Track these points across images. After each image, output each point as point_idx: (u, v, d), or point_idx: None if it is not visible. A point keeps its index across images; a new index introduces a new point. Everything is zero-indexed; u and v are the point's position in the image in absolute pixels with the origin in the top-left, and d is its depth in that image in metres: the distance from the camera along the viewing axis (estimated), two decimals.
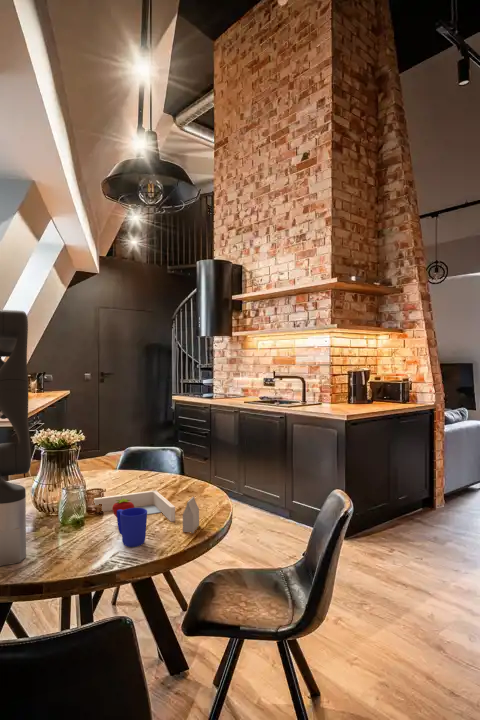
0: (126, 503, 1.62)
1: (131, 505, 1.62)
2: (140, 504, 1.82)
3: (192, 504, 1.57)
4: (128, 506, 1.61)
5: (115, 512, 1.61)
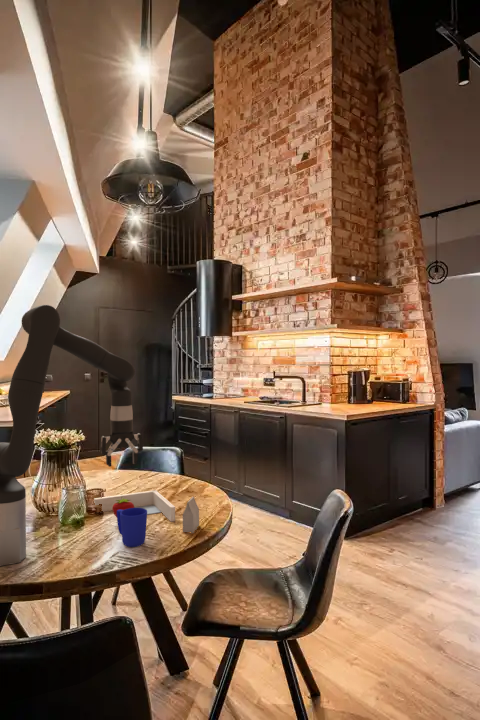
0: (126, 503, 1.62)
1: (131, 505, 1.62)
2: (140, 504, 1.82)
3: (192, 504, 1.57)
4: (128, 506, 1.61)
5: (115, 512, 1.61)
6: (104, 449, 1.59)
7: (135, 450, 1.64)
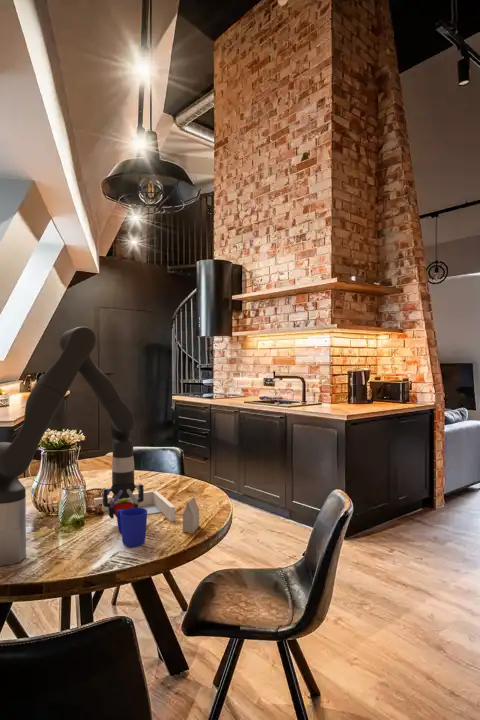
0: (126, 503, 1.62)
1: (131, 505, 1.62)
2: (140, 504, 1.82)
3: (192, 504, 1.57)
4: (128, 506, 1.61)
5: (115, 512, 1.61)
6: (106, 501, 1.59)
7: (135, 501, 1.64)
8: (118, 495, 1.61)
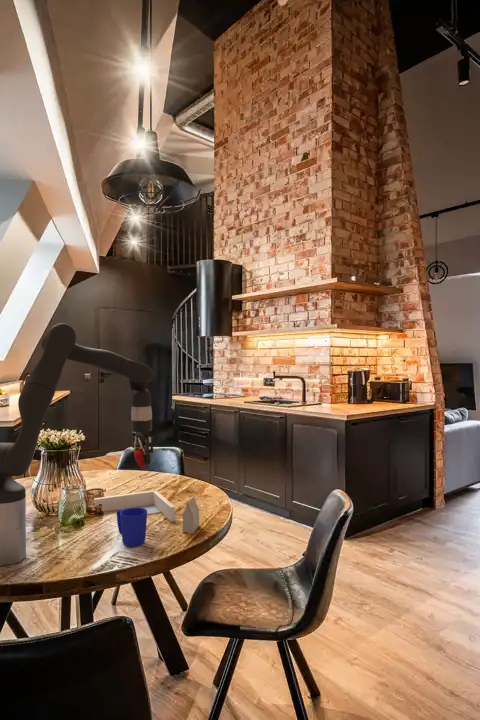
0: (138, 450, 1.73)
1: (139, 453, 1.71)
2: (140, 504, 1.82)
3: (192, 504, 1.57)
4: (136, 453, 1.72)
5: None
6: (132, 443, 1.78)
7: (143, 451, 1.70)
8: (135, 440, 1.75)
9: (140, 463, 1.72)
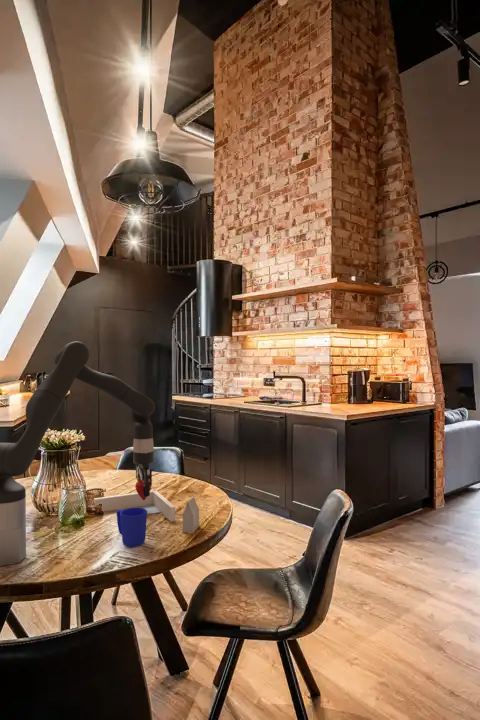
0: (139, 481, 1.75)
1: (139, 485, 1.74)
2: (140, 504, 1.82)
3: (192, 504, 1.57)
4: (136, 484, 1.74)
5: None
6: (136, 474, 1.81)
7: (143, 483, 1.72)
8: (137, 471, 1.78)
9: (140, 494, 1.74)
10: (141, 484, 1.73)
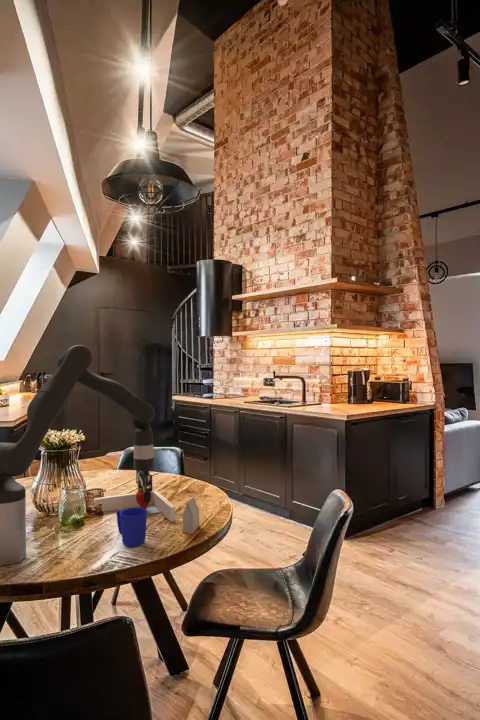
0: (139, 491, 1.75)
1: (139, 495, 1.73)
2: None
3: (192, 504, 1.57)
4: (136, 494, 1.74)
5: None
6: (136, 479, 1.82)
7: None
8: (138, 477, 1.78)
9: (140, 505, 1.74)
10: (141, 494, 1.73)
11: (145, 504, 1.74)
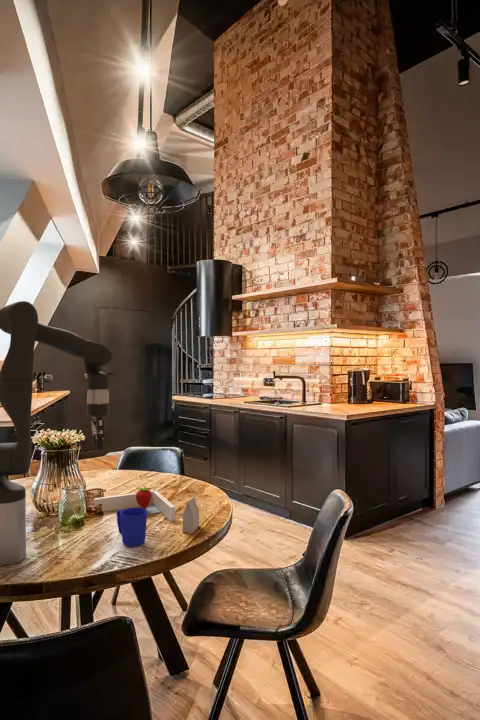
0: (139, 491, 1.75)
1: (139, 495, 1.73)
2: None
3: (192, 504, 1.57)
4: (136, 494, 1.74)
5: None
6: None
7: (96, 436, 1.61)
8: (92, 425, 1.67)
9: (140, 505, 1.74)
10: (141, 494, 1.73)
11: (145, 504, 1.74)
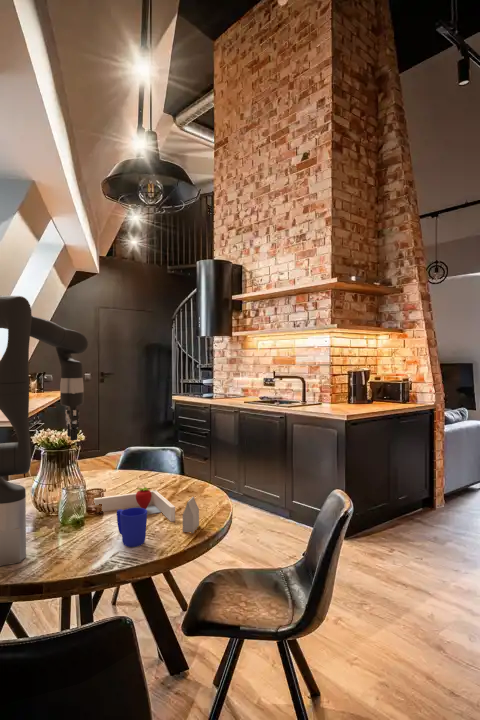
0: (139, 491, 1.75)
1: (139, 495, 1.73)
2: None
3: (192, 504, 1.57)
4: (136, 494, 1.74)
5: None
6: None
7: (70, 426, 1.57)
8: (66, 415, 1.62)
9: (140, 505, 1.74)
10: (141, 494, 1.73)
11: (145, 504, 1.74)
